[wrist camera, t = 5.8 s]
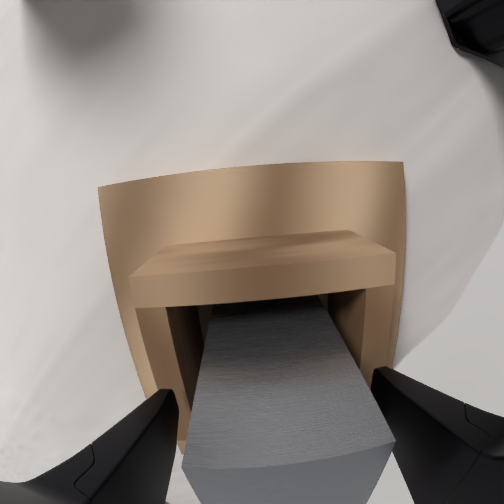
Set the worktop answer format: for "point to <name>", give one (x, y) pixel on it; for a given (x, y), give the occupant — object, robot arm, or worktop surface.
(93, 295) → the worktop surface
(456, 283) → the worktop surface
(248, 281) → the wooden socket plate
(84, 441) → the worktop surface
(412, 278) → the worktop surface
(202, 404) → the grey rectangular prism
